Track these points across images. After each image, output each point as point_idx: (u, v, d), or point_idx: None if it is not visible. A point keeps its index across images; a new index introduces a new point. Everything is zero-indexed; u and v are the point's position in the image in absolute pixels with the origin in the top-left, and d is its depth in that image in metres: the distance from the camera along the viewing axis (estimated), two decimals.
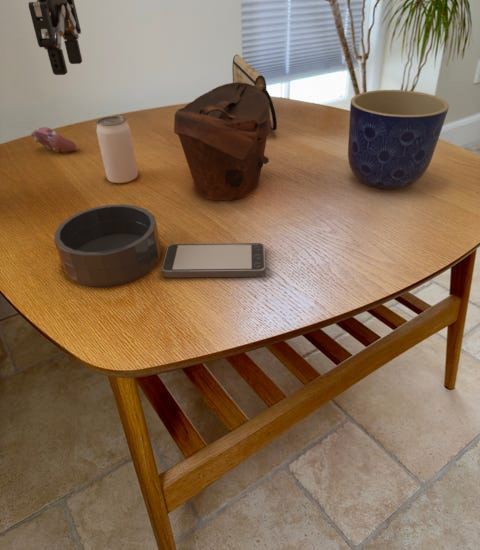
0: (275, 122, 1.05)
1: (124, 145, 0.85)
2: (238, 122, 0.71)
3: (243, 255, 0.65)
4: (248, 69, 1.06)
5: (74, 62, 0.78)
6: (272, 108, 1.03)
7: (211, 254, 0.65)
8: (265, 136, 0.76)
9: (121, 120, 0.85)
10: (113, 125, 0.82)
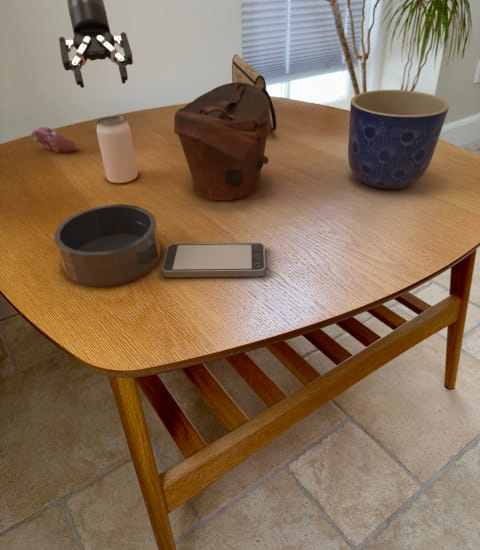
0: (275, 122, 1.05)
1: (124, 145, 0.85)
2: (238, 122, 0.71)
3: (243, 255, 0.65)
4: (248, 69, 1.06)
5: None
6: (272, 108, 1.03)
7: (211, 254, 0.65)
8: (265, 136, 0.76)
9: (121, 120, 0.85)
10: (113, 125, 0.82)
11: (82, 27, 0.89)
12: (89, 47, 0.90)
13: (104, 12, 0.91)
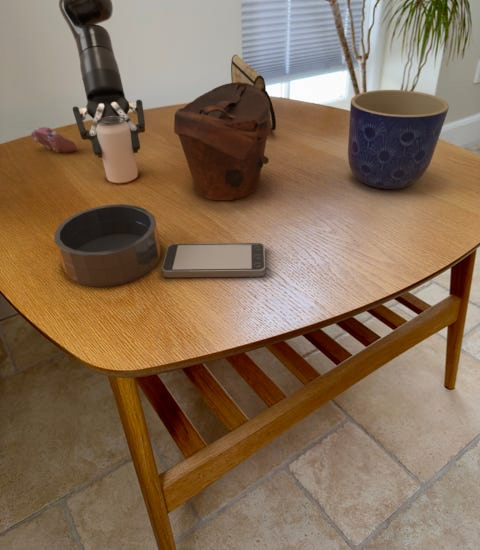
0: (274, 122, 1.05)
1: (123, 145, 0.85)
2: (238, 122, 0.71)
3: (243, 255, 0.65)
4: (247, 69, 1.06)
5: (101, 154, 0.86)
6: (271, 108, 1.03)
7: (211, 254, 0.65)
8: (265, 136, 0.76)
9: (121, 120, 0.85)
10: (113, 125, 0.82)
11: (96, 93, 0.86)
12: (103, 114, 0.86)
13: (119, 77, 0.88)
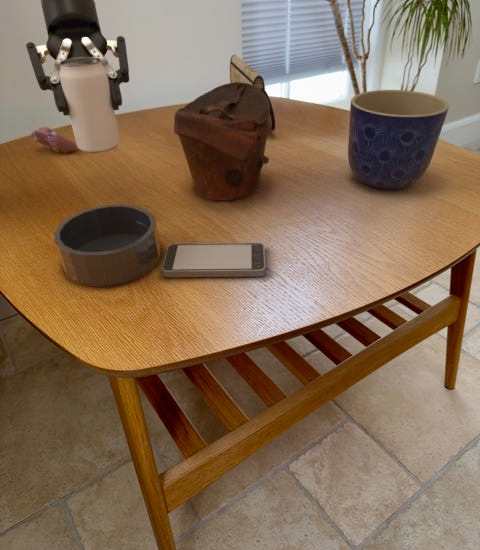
0: (273, 122, 1.05)
1: (98, 97, 0.60)
2: (238, 122, 0.71)
3: (243, 255, 0.65)
4: (246, 69, 1.06)
5: (67, 110, 0.61)
6: (270, 108, 1.03)
7: (211, 254, 0.65)
8: (265, 136, 0.76)
9: (95, 62, 0.61)
10: (82, 66, 0.58)
11: (60, 24, 0.61)
12: (70, 54, 0.62)
13: (92, 4, 0.63)
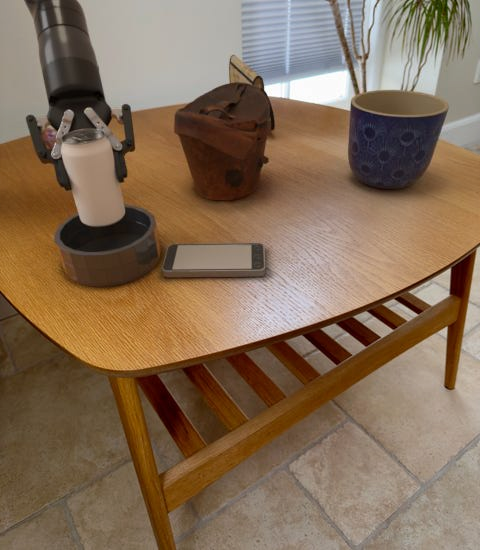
0: (273, 122, 1.05)
1: (102, 173, 0.57)
2: (238, 122, 0.71)
3: (243, 255, 0.65)
4: (245, 69, 1.06)
5: (69, 186, 0.58)
6: (270, 108, 1.03)
7: (211, 254, 0.65)
8: (265, 136, 0.76)
9: (98, 135, 0.57)
10: (85, 144, 0.54)
11: (62, 95, 0.57)
12: (72, 126, 0.58)
13: (96, 70, 0.59)
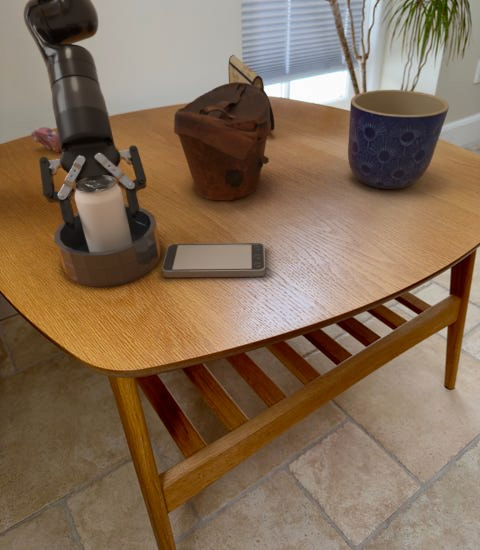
0: (273, 122, 1.05)
1: (113, 218, 0.61)
2: (238, 122, 0.71)
3: (243, 255, 0.65)
4: (245, 69, 1.06)
5: (74, 224, 0.61)
6: (270, 108, 1.03)
7: (211, 254, 0.65)
8: (265, 136, 0.76)
9: (110, 182, 0.61)
10: (98, 192, 0.58)
11: (74, 142, 0.61)
12: (84, 170, 0.62)
13: (106, 117, 0.63)
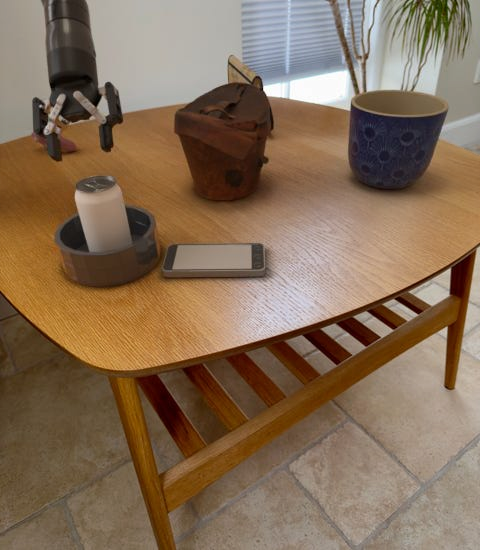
0: (272, 122, 1.05)
1: (113, 218, 0.61)
2: (238, 122, 0.71)
3: (243, 255, 0.65)
4: (244, 69, 1.06)
5: (57, 158, 0.69)
6: None
7: (211, 254, 0.65)
8: (265, 136, 0.76)
9: (110, 182, 0.61)
10: (98, 192, 0.58)
11: (57, 81, 0.68)
12: (66, 108, 0.69)
13: (86, 56, 0.68)
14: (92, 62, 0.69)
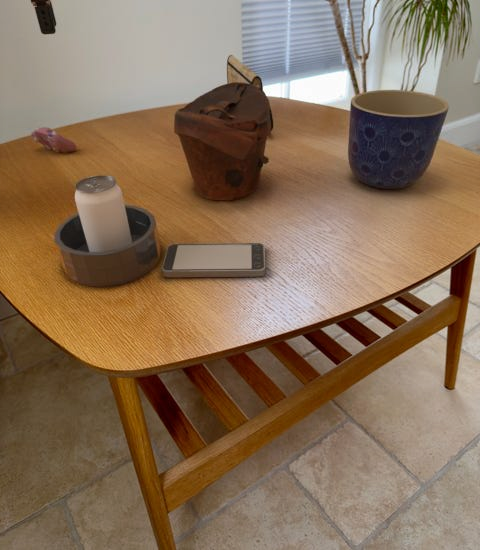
0: (272, 122, 1.05)
1: (113, 218, 0.61)
2: (238, 122, 0.71)
3: (243, 255, 0.65)
4: (244, 70, 1.06)
5: None
6: None
7: (211, 254, 0.65)
8: (265, 136, 0.76)
9: (110, 182, 0.61)
10: (98, 192, 0.58)
11: None
12: None
13: None
14: None
